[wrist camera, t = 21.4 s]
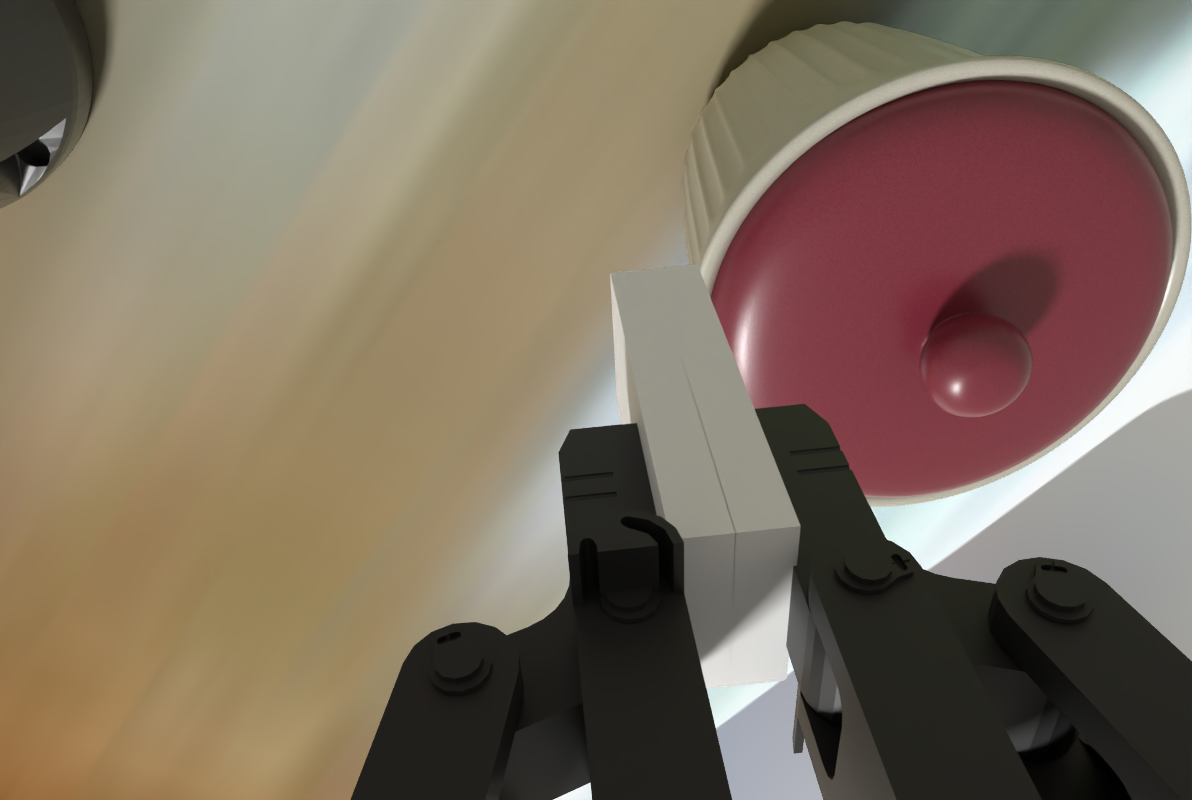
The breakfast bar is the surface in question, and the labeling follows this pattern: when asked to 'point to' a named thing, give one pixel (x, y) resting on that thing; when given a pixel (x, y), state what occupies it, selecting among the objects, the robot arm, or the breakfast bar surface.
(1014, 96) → the canister
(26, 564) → the breakfast bar surface
